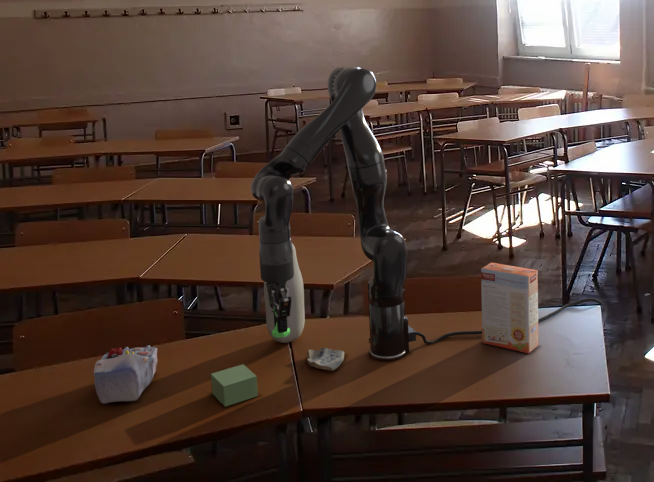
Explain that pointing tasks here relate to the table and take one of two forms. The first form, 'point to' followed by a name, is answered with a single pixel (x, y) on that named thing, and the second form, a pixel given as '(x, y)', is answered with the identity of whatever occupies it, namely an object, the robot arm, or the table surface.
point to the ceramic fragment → (325, 358)
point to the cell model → (124, 373)
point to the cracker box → (509, 307)
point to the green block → (234, 385)
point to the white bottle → (297, 306)
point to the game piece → (277, 334)
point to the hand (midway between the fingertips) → (281, 329)
